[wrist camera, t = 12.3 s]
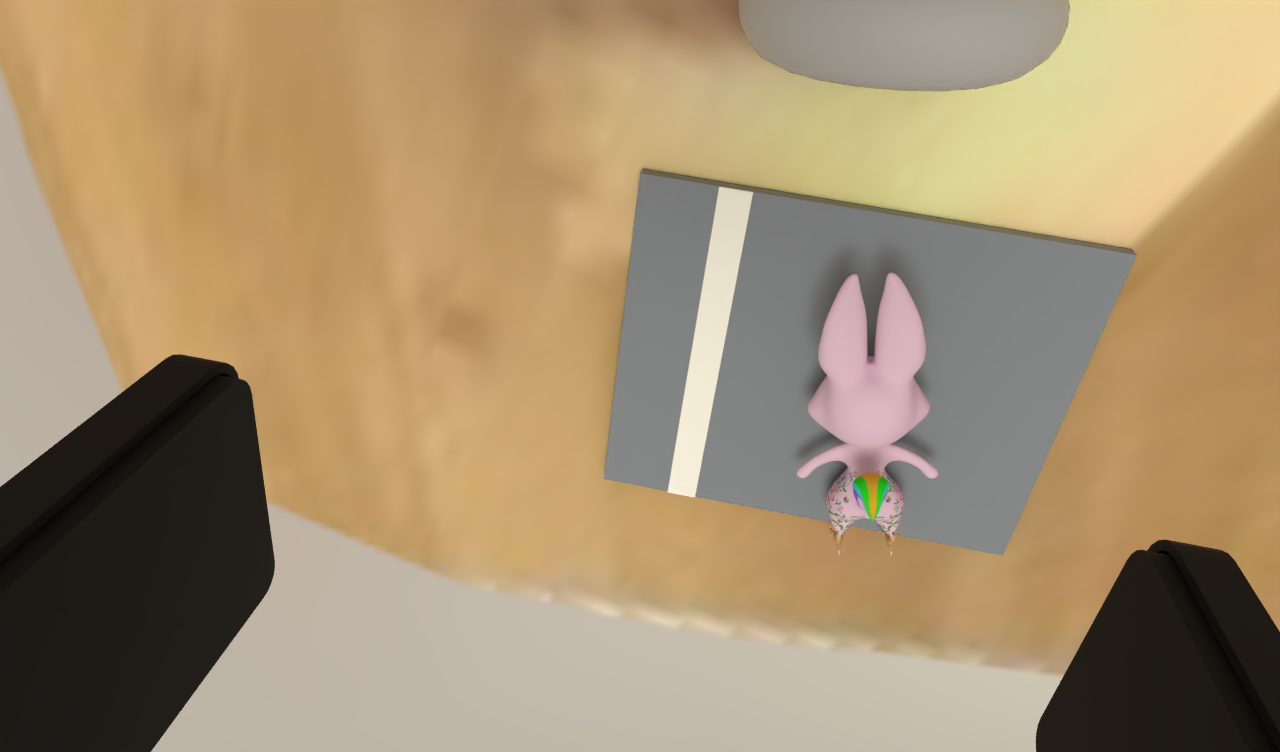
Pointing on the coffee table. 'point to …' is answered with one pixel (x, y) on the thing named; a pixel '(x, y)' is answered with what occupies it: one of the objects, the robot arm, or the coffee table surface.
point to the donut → (906, 40)
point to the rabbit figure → (869, 404)
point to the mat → (792, 328)
